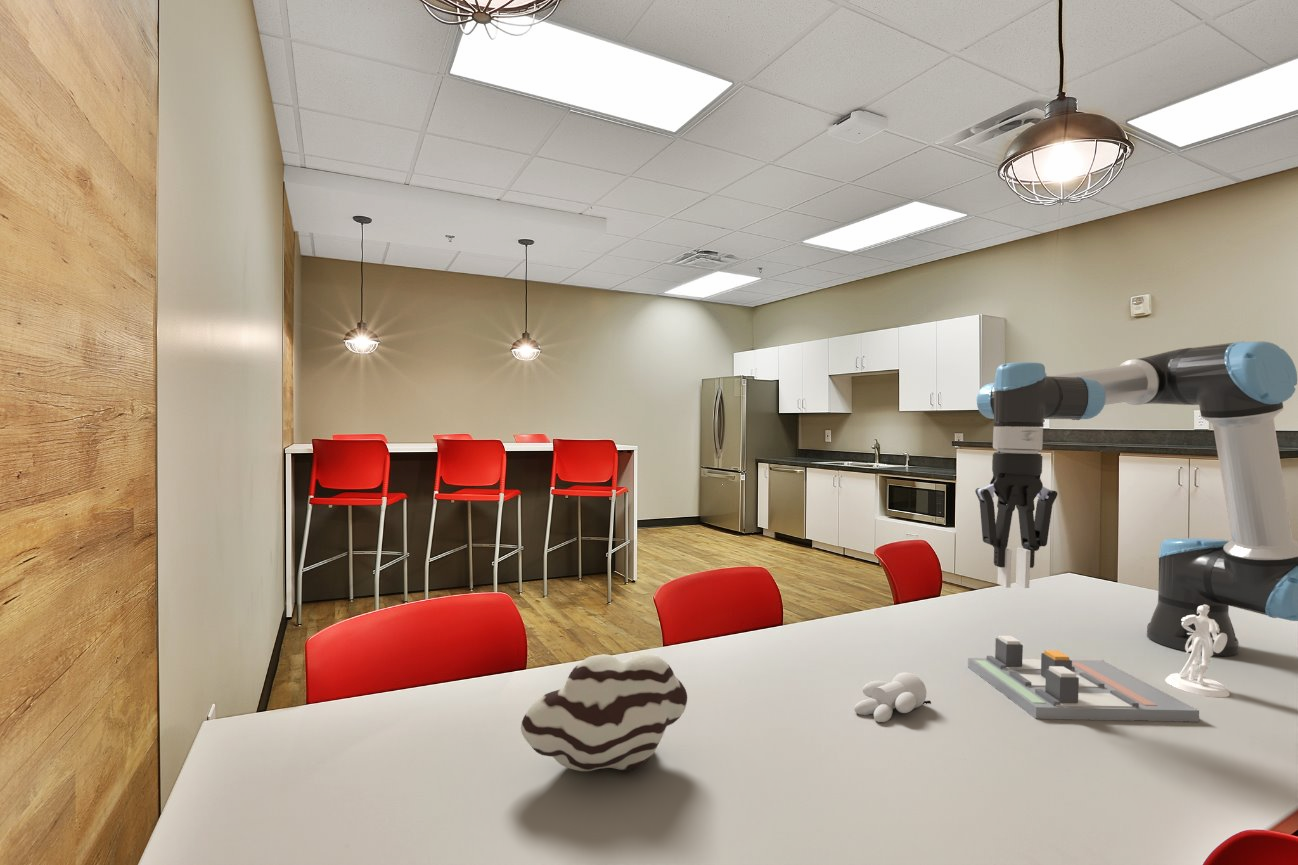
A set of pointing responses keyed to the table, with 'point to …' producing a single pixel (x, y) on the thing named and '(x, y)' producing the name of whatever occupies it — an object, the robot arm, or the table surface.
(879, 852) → the table surface
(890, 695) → the toy
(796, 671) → the table surface
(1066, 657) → the breaker mid
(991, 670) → the panel
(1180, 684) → the figurine
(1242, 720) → the table surface
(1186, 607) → the robot arm
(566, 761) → the sculpture
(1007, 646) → the breaker left
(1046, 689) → the block
